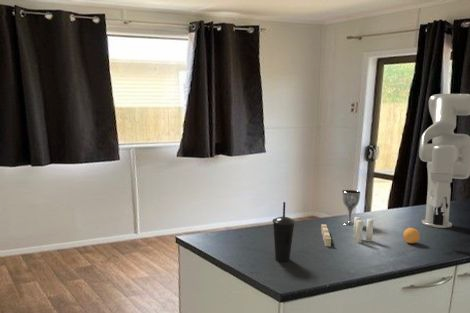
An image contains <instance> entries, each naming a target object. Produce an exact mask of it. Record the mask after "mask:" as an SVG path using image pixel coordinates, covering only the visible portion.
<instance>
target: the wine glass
mask: <svg viewBox="0 0 470 313" xmlns="http://www.w3.org/2000/svg"><path fill="white" fill-rule="evenodd" d="M341 191H342V192H341V200H342V203H343V205H344V207H345V208H346V209H347V211H348V220H346V221H341V224H342V225H343V226H347V227H348V226H352V227H354V221H352V219H351V218H352V212H353V211H354V209H355V208H356V207H357V206H358V205H359V202H360V199H361V191H359V190H356V189H355V190H354V189H343V190H341Z"/></svg>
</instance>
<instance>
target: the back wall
mask: <svg viewBox="0 0 470 313" xmlns="http://www.w3.org/2000/svg"><path fill="white" fill-rule="evenodd" d="M320 226H321V228H320V232H321V235H322V239H323V242H324V246H325V247H332V246H331V244H332V238H331V235H330V232H329V229H328V226H327V224H323V223H322V224H320Z"/></svg>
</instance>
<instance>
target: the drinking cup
mask: <svg viewBox="0 0 470 313" xmlns="http://www.w3.org/2000/svg"><path fill="white" fill-rule="evenodd" d="M272 224H273V236H274V237H273V238H274V239H273V240H274V255H275V256H274V257H275V258H274V259H275V260H276V261H277V262H283V263H285V262H289V261H290V259H291V252H292V250H291V249H292V244H293V235H294V227H295V224H296V221H295V219H292V218H291V217H287V216H286V202H285V201H283V206H282V216H277V217H275V218H273V219H272Z"/></svg>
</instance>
